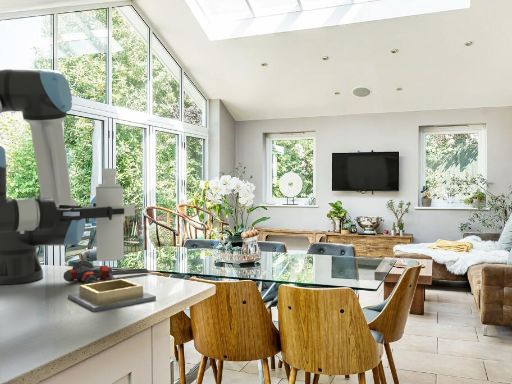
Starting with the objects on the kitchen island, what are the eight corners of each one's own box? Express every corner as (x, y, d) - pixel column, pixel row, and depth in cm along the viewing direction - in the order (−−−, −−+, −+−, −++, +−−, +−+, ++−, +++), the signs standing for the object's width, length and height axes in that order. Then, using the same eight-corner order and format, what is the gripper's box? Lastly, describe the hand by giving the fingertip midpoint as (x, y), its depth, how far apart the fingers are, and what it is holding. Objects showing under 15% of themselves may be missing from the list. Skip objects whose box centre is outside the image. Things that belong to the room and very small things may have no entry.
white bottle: (127, 257, 121) (126, 162, 121) (117, 261, 115) (115, 161, 114) (103, 256, 122) (102, 163, 122) (92, 261, 116) (90, 162, 115)
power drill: (69, 297, 129) (59, 280, 142) (156, 289, 144) (140, 274, 156) (70, 276, 129) (60, 260, 141) (158, 269, 143) (142, 256, 155)
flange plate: (67, 297, 120) (67, 284, 120) (125, 288, 131) (124, 276, 131) (94, 312, 107) (94, 297, 107) (155, 300, 117) (155, 286, 117)
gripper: (24, 227, 114) (112, 222, 129) (48, 233, 99) (145, 226, 114) (23, 197, 114) (112, 195, 129) (47, 198, 99) (145, 196, 114)
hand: (127, 210), depth 122 cm, fingers closed on white bottle, 6 cm apart
